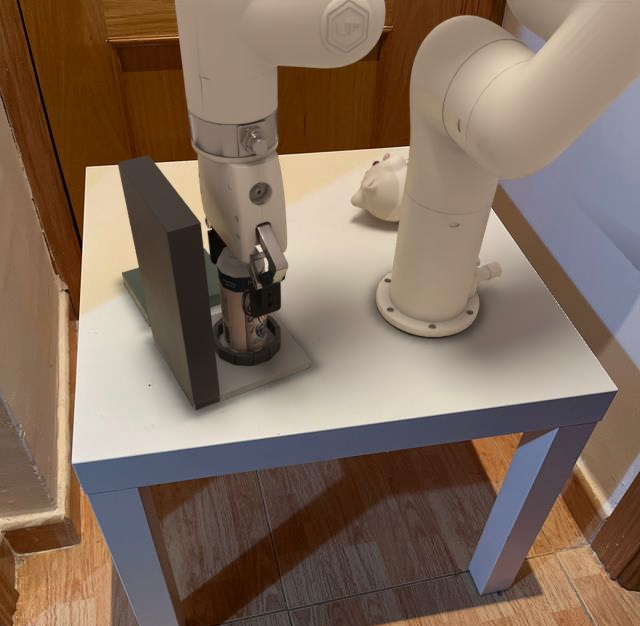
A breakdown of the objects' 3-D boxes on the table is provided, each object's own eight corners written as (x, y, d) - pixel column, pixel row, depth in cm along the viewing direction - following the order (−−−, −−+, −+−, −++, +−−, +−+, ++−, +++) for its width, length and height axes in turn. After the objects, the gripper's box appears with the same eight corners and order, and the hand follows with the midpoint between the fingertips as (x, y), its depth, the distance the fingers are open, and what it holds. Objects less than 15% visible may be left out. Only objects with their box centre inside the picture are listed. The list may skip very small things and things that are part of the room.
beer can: (261, 360, 76) (257, 272, 67) (219, 353, 76) (210, 265, 67) (271, 331, 79) (269, 243, 70) (231, 325, 80) (224, 236, 70)
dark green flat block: (205, 259, 89) (203, 235, 86) (235, 299, 84) (233, 276, 81) (123, 283, 85) (118, 260, 83) (150, 327, 80) (145, 303, 78)
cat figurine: (456, 134, 93) (363, 145, 87) (477, 188, 92) (384, 202, 86) (421, 173, 102) (334, 185, 96) (440, 222, 101) (353, 238, 95)
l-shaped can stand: (263, 304, 84) (256, 129, 67) (311, 367, 77) (317, 189, 60) (153, 341, 79) (117, 162, 62) (194, 411, 72) (166, 232, 55)
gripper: (322, 162, 55) (316, 323, 68) (231, 76, 64) (241, 232, 78) (237, 185, 53) (248, 347, 66) (155, 92, 62) (179, 250, 75)
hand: (244, 285), depth 72 cm, fingers open, 9 cm apart
